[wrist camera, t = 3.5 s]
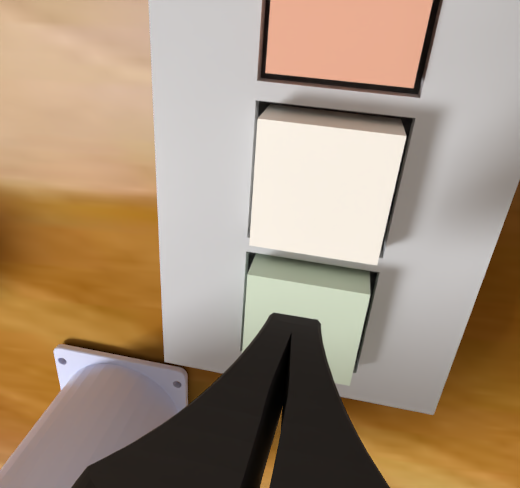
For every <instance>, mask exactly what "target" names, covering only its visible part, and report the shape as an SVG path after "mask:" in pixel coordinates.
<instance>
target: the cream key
mask: <svg viewBox="0 0 520 488" xmlns="http://www.w3.org/2000/svg"><path fill="white" fill-rule="evenodd" d="M405 141H406V133H405V130H404V127H403V124H402V121H401V119H398V118H389V117H380V116H371V115H362V114H353V113H344V112H335V111H326V110H318V109H309V108H300V107H291V106H282V105H273V104H270V105H269V106H268V107H267V108H266V109H265V111H264V112H263V113H262V114H261V115H260V116H259V117H258V120H257V135H256V150H255V165H254V180H253V196H252V211H251V226H250V241H249V246H256V247H262V248H269V249H275V250H281V251H288V252H294V253H300V254H307V255H313V256H320V257H326V258H332V259H339V260H345V261H352V262H358V263H364V264H371V265H377V264H378V259H379V255H380V251H381V246H382V242H383V237H384V233H385V229H386V224H387V220H388V215H389V211H390V207H391V202H392V198H393V193H394V189H395V185H396V180H397V176H398V171H399V167H400V163H401V158H402V154H403V149H404V145H405Z"/></svg>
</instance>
